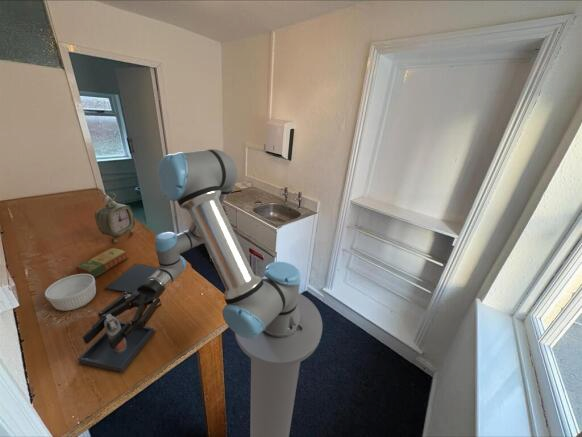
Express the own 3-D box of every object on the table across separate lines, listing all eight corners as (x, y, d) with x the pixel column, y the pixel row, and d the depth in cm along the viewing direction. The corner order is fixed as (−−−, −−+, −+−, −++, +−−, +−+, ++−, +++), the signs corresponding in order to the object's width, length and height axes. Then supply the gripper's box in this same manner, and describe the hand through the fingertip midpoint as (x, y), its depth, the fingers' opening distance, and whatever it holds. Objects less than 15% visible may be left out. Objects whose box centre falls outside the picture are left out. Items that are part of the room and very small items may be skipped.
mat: (168, 270, 104) (168, 269, 104) (142, 295, 90) (142, 294, 90) (135, 264, 106) (135, 264, 105) (105, 288, 91) (105, 288, 91)
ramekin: (78, 284, 92) (73, 270, 89) (108, 290, 91) (103, 276, 88) (41, 310, 80) (33, 295, 77) (74, 317, 79) (67, 302, 76)
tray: (154, 332, 76) (153, 327, 75) (122, 372, 64) (120, 368, 64) (117, 324, 78) (116, 320, 77) (80, 363, 66) (77, 358, 65)
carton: (127, 258, 109) (125, 250, 108) (92, 279, 95) (89, 271, 94) (114, 254, 111) (111, 246, 109) (77, 274, 97) (74, 266, 95)
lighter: (108, 337, 71) (99, 314, 67) (121, 331, 74) (113, 308, 69) (115, 355, 67) (106, 331, 62) (129, 348, 69) (121, 324, 65)
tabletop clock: (115, 245, 118) (101, 199, 107) (100, 242, 119) (85, 196, 109) (137, 232, 131) (127, 190, 120) (123, 229, 132) (112, 187, 122)
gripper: (182, 298, 84) (134, 358, 64) (131, 289, 86) (69, 345, 66) (179, 282, 81) (128, 340, 60) (127, 273, 83) (60, 326, 62)
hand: (98, 342), depth 63 cm, fingers closed on lighter, 7 cm apart
